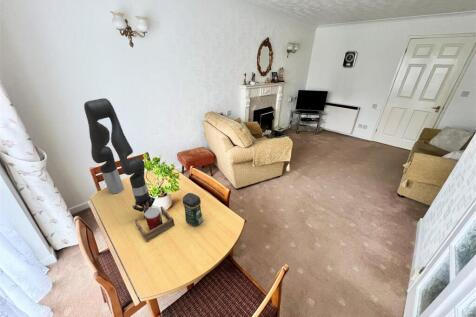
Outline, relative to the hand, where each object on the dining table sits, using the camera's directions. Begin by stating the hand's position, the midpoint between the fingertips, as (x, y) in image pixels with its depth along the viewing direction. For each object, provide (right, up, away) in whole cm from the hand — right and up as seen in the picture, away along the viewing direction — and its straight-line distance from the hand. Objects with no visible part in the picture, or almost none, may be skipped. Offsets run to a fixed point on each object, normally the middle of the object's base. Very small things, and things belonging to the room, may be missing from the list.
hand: (147, 213), depth 118 cm
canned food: (+8, -6, -6) cm, 12 cm away
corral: (+8, -5, -6) cm, 11 cm away
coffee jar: (+29, -4, -2) cm, 29 cm away
